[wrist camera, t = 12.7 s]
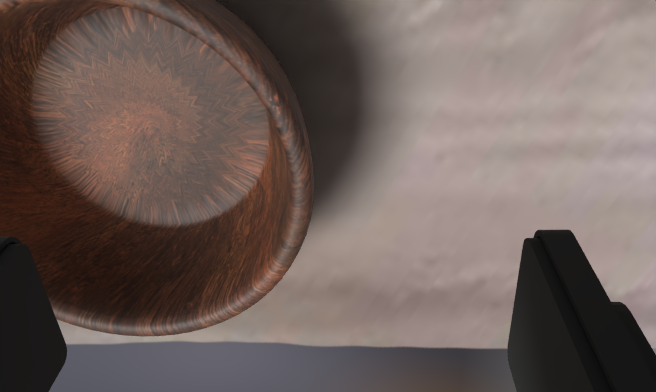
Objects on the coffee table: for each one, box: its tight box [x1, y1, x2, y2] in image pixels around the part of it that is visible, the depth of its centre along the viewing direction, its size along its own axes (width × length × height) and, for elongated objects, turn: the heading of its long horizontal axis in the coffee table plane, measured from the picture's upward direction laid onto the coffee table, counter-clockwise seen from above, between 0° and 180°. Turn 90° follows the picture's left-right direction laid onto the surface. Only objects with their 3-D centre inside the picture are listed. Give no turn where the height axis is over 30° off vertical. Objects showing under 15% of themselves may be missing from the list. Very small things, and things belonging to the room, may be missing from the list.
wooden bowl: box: [0, 0, 314, 336], centre depth 40 cm, size 25×25×10 cm
